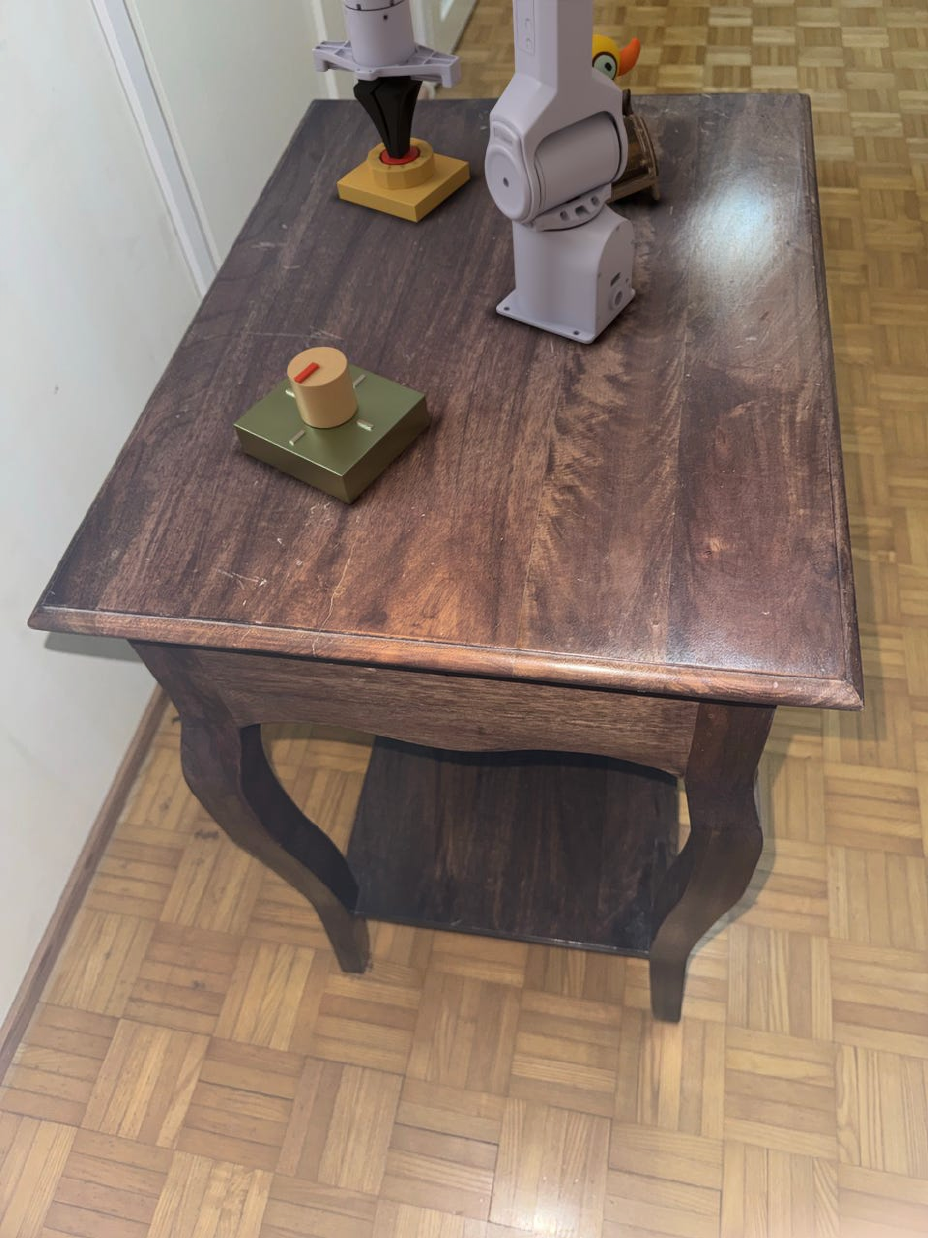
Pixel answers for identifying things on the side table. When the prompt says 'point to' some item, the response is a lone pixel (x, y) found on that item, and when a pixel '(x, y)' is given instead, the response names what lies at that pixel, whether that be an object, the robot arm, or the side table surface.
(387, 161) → the button
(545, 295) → the robot arm
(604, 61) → the duckling
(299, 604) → the side table surface
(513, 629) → the side table surface
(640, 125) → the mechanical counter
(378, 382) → the panel
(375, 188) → the housing
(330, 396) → the knob
